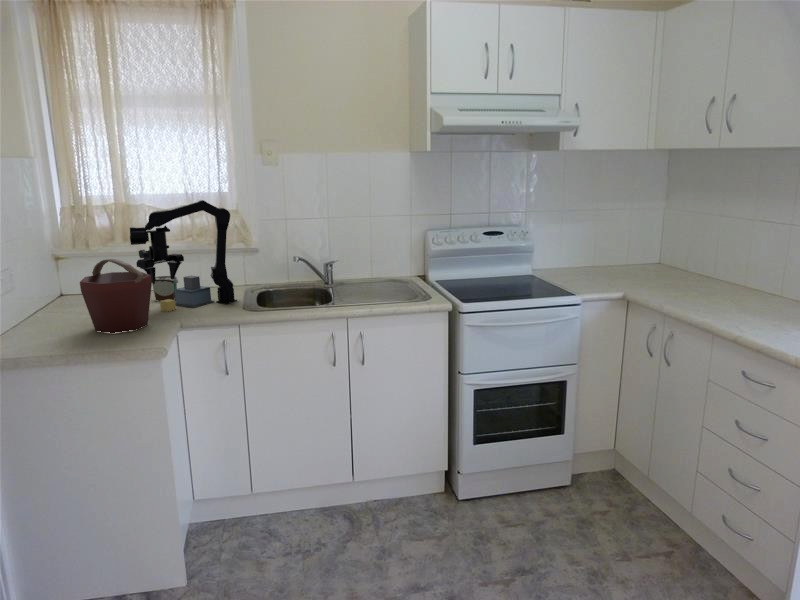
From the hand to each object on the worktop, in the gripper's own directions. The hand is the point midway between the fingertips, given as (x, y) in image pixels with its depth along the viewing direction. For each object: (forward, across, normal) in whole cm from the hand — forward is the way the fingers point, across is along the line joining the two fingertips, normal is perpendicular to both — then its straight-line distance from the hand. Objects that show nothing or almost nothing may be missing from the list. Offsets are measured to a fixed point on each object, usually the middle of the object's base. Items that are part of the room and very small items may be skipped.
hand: (163, 281), depth 234 cm
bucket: (+11, +28, +10) cm, 32 cm away
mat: (+11, -11, +4) cm, 16 cm away
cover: (+11, -11, +4) cm, 16 cm away
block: (+11, +2, +4) cm, 12 cm away
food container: (+11, -11, -11) cm, 19 cm away
